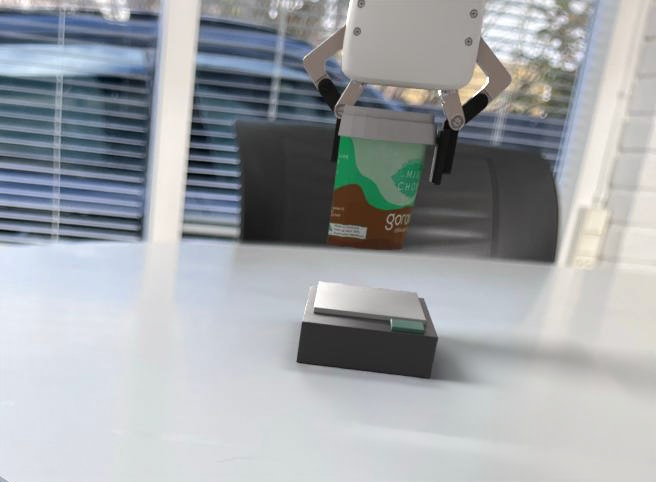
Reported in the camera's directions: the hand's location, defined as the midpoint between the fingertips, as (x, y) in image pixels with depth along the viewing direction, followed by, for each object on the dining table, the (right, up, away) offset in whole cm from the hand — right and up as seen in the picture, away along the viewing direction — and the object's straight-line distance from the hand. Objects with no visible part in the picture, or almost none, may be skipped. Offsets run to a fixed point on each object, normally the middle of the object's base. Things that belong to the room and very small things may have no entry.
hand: (388, 177), depth 85 cm
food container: (0, -5, +2) cm, 5 cm away
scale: (-2, -13, +2) cm, 13 cm away
